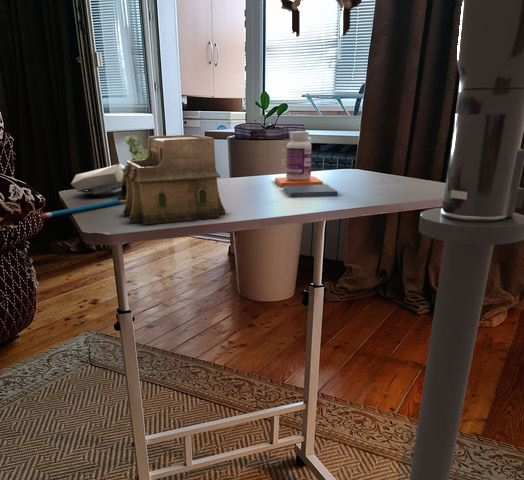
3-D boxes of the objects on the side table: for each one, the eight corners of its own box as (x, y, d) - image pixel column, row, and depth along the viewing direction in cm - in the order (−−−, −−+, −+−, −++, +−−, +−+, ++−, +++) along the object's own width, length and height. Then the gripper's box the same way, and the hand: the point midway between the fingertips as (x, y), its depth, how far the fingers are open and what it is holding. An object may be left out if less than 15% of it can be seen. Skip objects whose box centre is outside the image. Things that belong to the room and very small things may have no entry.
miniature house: (204, 202, 90) (200, 133, 85) (230, 216, 78) (226, 137, 73) (119, 210, 85) (109, 137, 80) (133, 226, 73) (122, 142, 68)
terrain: (186, 205, 94) (192, 196, 92) (144, 207, 87) (150, 197, 85) (151, 142, 96) (156, 132, 95) (108, 139, 90) (112, 129, 88)
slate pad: (326, 188, 103) (327, 184, 102) (337, 195, 95) (337, 191, 94) (283, 189, 102) (283, 185, 102) (290, 197, 94) (290, 192, 94)
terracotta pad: (314, 180, 114) (314, 176, 114) (322, 185, 106) (322, 181, 106) (275, 181, 114) (275, 177, 113) (280, 187, 106) (280, 183, 105)
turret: (157, 187, 111) (151, 164, 110) (112, 187, 93) (105, 160, 92) (117, 196, 114) (111, 174, 113) (66, 198, 96) (59, 172, 94)
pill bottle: (309, 181, 107) (310, 132, 103) (284, 181, 108) (284, 132, 103) (311, 178, 112) (313, 130, 107) (288, 177, 113) (288, 131, 108)
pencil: (43, 214, 79) (44, 218, 79) (128, 198, 91) (129, 202, 92) (40, 213, 80) (41, 218, 80) (125, 198, 92) (126, 202, 92)
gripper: (281, -84, 81) (283, 33, 88) (368, -86, 82) (363, 30, 88) (277, -67, 88) (279, 40, 95) (357, -69, 89) (354, 38, 95)
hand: (320, 35), depth 92 cm, fingers open, 8 cm apart
